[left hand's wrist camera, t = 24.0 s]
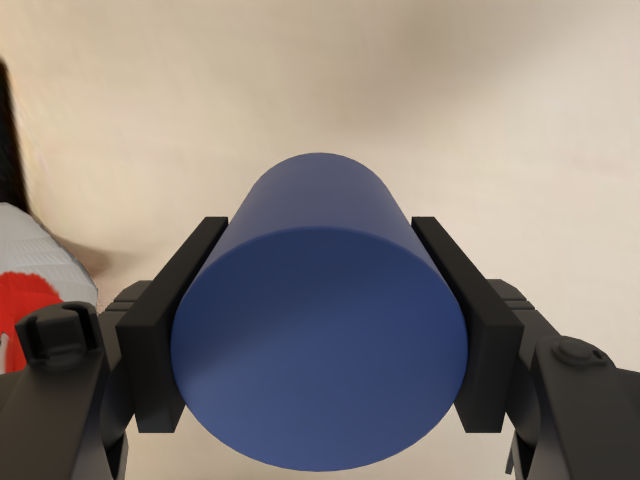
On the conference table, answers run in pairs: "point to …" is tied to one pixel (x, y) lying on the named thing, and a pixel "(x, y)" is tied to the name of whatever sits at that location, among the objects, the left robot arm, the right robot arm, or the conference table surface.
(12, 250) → the fish
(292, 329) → the can
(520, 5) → the conference table surface
